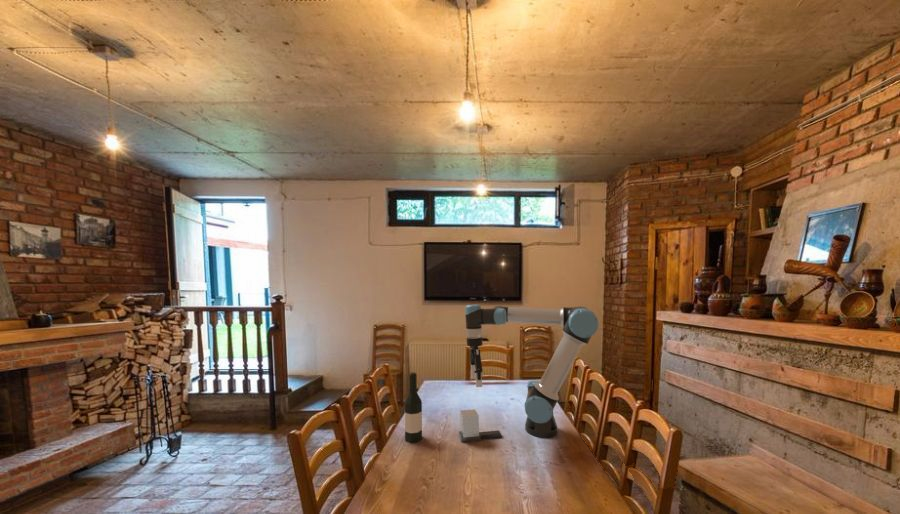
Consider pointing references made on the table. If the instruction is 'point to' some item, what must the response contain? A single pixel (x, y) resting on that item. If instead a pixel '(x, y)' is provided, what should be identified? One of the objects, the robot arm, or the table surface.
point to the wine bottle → (413, 412)
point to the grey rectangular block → (469, 423)
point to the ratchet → (480, 436)
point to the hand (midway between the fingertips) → (476, 382)
